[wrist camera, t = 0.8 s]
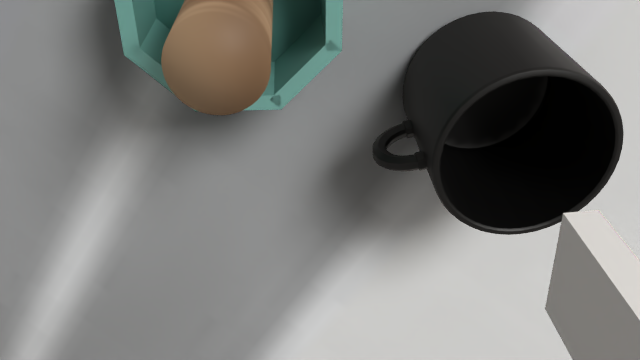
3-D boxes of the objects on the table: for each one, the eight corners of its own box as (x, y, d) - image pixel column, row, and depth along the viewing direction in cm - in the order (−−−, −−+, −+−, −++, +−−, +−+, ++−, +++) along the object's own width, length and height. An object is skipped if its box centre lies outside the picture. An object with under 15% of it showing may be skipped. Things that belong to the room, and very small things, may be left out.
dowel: (202, 20, 34) (168, 116, 23) (194, -57, 31) (153, 13, 21) (275, 18, 34) (273, 114, 24) (272, -58, 32) (268, 11, 22)
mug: (344, 48, 36) (361, 117, 28) (547, -12, 35) (623, 43, 27) (379, 178, 41) (402, 266, 33) (559, 129, 40) (626, 209, 32)
